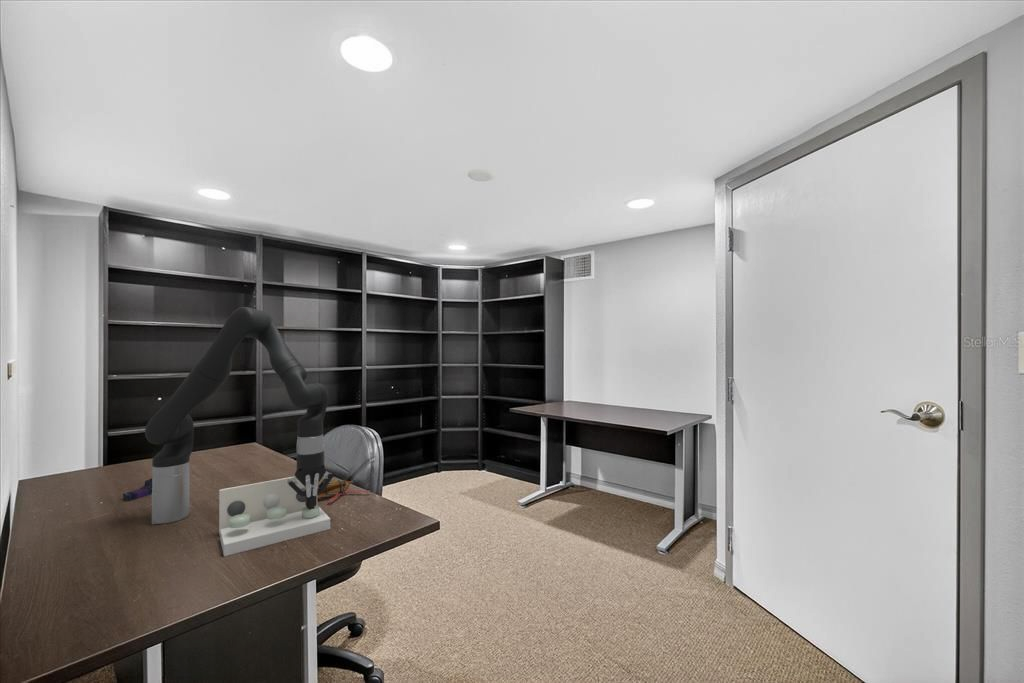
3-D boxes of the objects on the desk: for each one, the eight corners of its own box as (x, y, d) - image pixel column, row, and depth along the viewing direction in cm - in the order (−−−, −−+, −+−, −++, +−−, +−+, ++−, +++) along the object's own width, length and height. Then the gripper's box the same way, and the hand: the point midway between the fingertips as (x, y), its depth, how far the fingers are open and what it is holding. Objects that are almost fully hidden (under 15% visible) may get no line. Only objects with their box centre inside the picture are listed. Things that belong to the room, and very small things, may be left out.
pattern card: (219, 537, 120) (219, 491, 120) (218, 532, 123) (218, 487, 124) (317, 514, 136) (317, 473, 137) (314, 510, 139) (314, 470, 140)
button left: (230, 529, 113) (230, 522, 113) (228, 524, 117) (228, 516, 117) (251, 525, 116) (251, 517, 116) (248, 519, 120) (248, 512, 120)
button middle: (268, 521, 118) (268, 513, 118) (265, 515, 122) (265, 508, 122) (287, 516, 121) (287, 509, 121) (284, 511, 125) (284, 504, 125)
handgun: (112, 492, 162) (162, 481, 174) (126, 503, 150) (178, 491, 162) (112, 485, 162) (161, 474, 174) (126, 495, 150) (178, 483, 162)
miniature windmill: (279, 516, 134) (371, 491, 154) (274, 483, 138) (364, 463, 158) (270, 527, 143) (358, 502, 163) (266, 496, 147) (352, 475, 167)
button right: (303, 519, 124) (303, 512, 124) (300, 514, 128) (300, 507, 128) (321, 515, 127) (321, 508, 127) (317, 510, 131) (317, 504, 131)
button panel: (224, 556, 109) (224, 544, 109) (220, 540, 118) (220, 529, 118) (330, 528, 125) (330, 518, 125) (319, 516, 134) (319, 507, 134)
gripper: (330, 444, 135) (330, 499, 134) (283, 451, 126) (283, 510, 126) (337, 449, 129) (337, 506, 128) (288, 456, 121) (289, 517, 120)
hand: (311, 508), depth 127 cm, fingers closed
